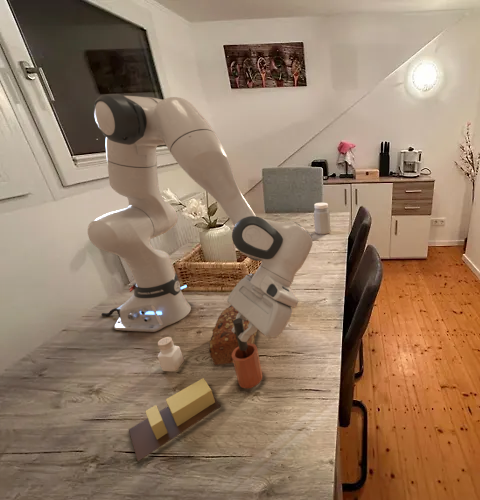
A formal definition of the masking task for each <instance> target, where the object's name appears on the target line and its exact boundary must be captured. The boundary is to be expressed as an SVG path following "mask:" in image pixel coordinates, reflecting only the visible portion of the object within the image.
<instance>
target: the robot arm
mask: <svg viewBox="0 0 480 500" xmlns="http://www.w3.org/2000/svg"><path fill="white" fill-rule="evenodd" d="M92 109H93V111H92V112H93V113H92V114H93V118H94V122H95V124H96V126H97V128H98V130H99V131H100V133H102V135H103V136H104V137H105V155H106V164H107V165H106V166H107V173H108V182H109V186H110V188H111V189H112V190H113V191H115V192H116V193H117V194H119V195H121V196H122V197H126V198H127V200H128V205H127V207H124V208H120V209H118V210H114V211H110V212H107V213H105V214H103V215H100V216H99V217H97V218H95V219H94V220H92V221H90V223H89V224H88V226H87V236H88V239H89V241H90V242H91V243H92V244H93V246H95V247H96V248H97V249H99V250H101V251H103V252H105V253H110V254H113V255H116V256H118V257H119V258H120V259H122V260H123V261H124V263H125V264H127V266H128V268H129V270H130V273H131V275H132V277H133V280H134V283H133V284H132V286H131V287H130V288H128V291H129V293H131V292H133V294H132V295H131V296H129V298H128V299H127V300H126V301H124V303H122V304H121V305H120V306H118V307H115V308H112V309H111V310H110V311H109V312H102V313H101V317H109V316H112V315H113V314H114V313H115V312H116V313H117V315H118V319H117V320H116V321H115V323H114V326H113V328H114V330H115V331H127V332H143V333H144V332H148V333H155V332H158V331H160V330H162V329H163V328H165V327H167V326H170V325H172V324H175V323H177V322H179V321H181V320H183V319H184V318H185V317H187V316H188V315H189V313H191V310H192V306H191V305H190V303H189V302H188V301H187V299H186V297H185V296H184V294H183V291H182V290H183V289H186V288H187V287H188V286H187V284H184V285H183V286H181V283H180V280H179V277H178V274H177V272H175V269H174V266H173V263H172V259H171V256H170V255H169V253H168V252H166V251H164V250H161V249H158V248H157V249H155V248H154V247H153V245H152V243H151V240H152V239H154V238H156V237H159V236H161V235H164V234H166V233H168V232H169V231H170V230H171V229H172V228H174V227H175V226H176V225H177V223H178V219H179V218H178V213H177V211H176V209H175V208H174V206H172V205H171V203H169V202H168V201H166V200H165V199H164V197H163V195H162V194H161V191H160V187H159V175H158V157H157V156H158V155H157V148H158V146H166V148H167V149H168V151H169V152H170V154H171V156H172V157H173V159H174V160H175V161H176V163H177V164H178V165H179V166H180V168H181V169H182V170H183V171H184V172H185V174H187V176H189V177H190V179H192V180H193V181H194V182H195V183H196V184H197V185H198V186H199V187H201V188H202V189H203V190H205V192H206V193H208V194H209V195H210V196H211V197H212V198H213V199H214V200H215V201H216V202H217V203H218V204H219V205H220V207H221V208H222V210H223V211H224V213H225V214H226V216H227V218H228V219H229V221H230V222H231V223H232V225H233V226H234V227H233V228H232V232H231V239H232V243H233V245H234V247H235V248H236V250H238V251H239V252H240V253H241V254H243V255H244V256H245V257H247V258H248V259H250V260H252V261H255V262H260V265H259V266H258V268H257V269H256V271H255V273H252V272H250V273H248V274H246V275H245V276H244V277H243V278H242V279H240V280H239V281H238V282H237V284H236V285H235V286H234V288H233V289H232V290H231V292H230V293H229V295H228V296H227V303H228V304H229V306H233V307H234V308H235V309H236V310H237V311H238V314H237V316H236V319H238V318H241V319H242V321H243V323H244V320H246V319H247V320H248V321H249V322H250V323H249V324H248V327H249V328H247V329H246V330H245V331H244V332H243V331H241V333H240V335H239V336H238V338H239V339H240V340H241V341H242V342H247V340H248V339H249V337H250V336H251V335H252V334H254V333H255V332H257V333H258V331H259V332H260V333H261V334H262V335H263V336H265V337H268V338H271V339H276V338H278V337H279V336H281V335H282V334H283V332H284V330H285V328H286V327H287V324H288V323H289V322H290V319H291V317H292V315H293V314H292V313H293V309H294V308H296V307H297V306H298V304H299V299H298V297H297V296H296V294H295V292H294V291H293V289H292V287H291V285H292V284H293V282H294V280H295V276H296V274H297V273H298V271H299V270H300V269H302V266H303V265H304V264H305V262H306V260H307V258H308V256H309V254H310V252H311V249H312V248H313V244H314V243H313V242H314V241H313V237H312V235H311V233H310V232H309V231H308V230H307V229H306V228H305V227H304V226H303V225H301V224H300V223H298V222H297V221H293V220H290V221H276V220H271V219H268V218H267V219H266V218H263V217H259V216H257V215H256V213H255V212H254V211H253V209H252V207H251V206H250V204H249V203H248V201H247V200H246V198H245V196H244V195H243V193H242V191H241V189H240V187H239V185H238V183H237V180H236V176H235V174H234V170H233V167H232V165H231V162H230V159H229V157H228V154H227V152H226V149H225V147H224V145H223V144H222V142H221V140H220V138H219V137H218V135H217V133H216V132H215V130H214V129H213V128H212V126H211V125H210V123H209V122H208V120H206V119H205V117H204V116H203V115H202V113H201V112H200V111H199V110H198V109H197V108H196V107H195V106H194V105H193V104H192V103H191V102H190V101H188V100H187V99H185V98H182V97H177V96H171V97H166V98H164V99H161V98H157V97H151V96H137V95H123V94H120V93H107V94H102V95H99V96H98V97H97V99H96V100H95V102H94V104H93V107H92ZM292 308H293V309H292ZM232 332H233V333H234V334H235V335H236V333H235V329H234V327H233V329H232Z"/></svg>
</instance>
